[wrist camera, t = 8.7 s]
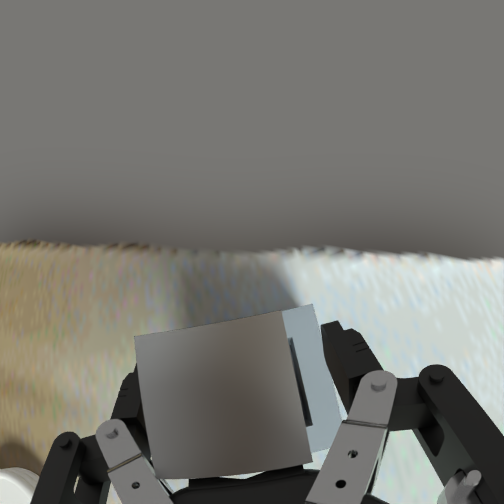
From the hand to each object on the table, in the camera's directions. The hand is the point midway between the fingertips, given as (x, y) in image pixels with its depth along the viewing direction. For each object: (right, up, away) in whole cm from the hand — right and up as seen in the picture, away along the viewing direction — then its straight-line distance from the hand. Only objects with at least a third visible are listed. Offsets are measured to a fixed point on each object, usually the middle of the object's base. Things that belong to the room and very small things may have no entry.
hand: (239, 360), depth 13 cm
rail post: (+1, -5, +8) cm, 10 cm away
